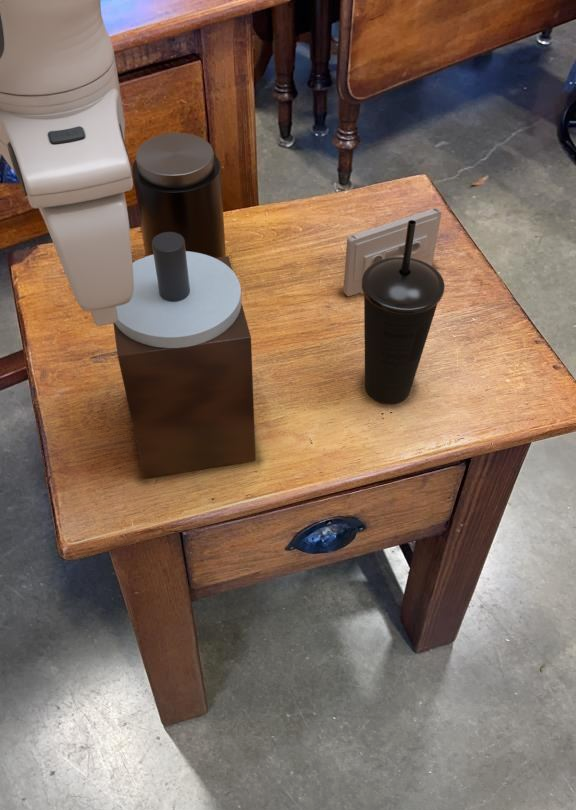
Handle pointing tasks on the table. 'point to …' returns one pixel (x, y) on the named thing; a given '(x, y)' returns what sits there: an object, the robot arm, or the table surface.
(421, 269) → the drinking cup
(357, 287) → the cassette
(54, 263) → the table surface
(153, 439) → the riser
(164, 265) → the lid
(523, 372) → the table surface
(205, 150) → the thermos
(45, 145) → the robot arm
